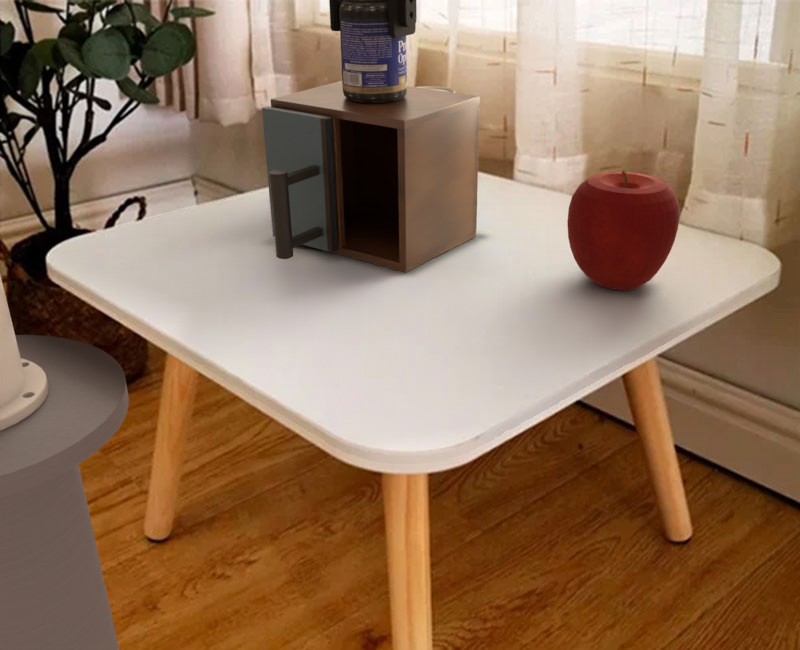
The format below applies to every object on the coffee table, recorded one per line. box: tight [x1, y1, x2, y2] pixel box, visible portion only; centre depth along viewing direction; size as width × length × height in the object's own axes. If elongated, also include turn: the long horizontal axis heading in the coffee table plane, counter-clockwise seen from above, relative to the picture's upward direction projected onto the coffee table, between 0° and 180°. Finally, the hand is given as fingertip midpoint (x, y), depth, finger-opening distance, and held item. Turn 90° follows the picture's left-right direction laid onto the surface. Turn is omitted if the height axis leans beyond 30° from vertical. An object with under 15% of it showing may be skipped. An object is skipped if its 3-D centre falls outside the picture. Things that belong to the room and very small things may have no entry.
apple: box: [567, 170, 681, 291], centre depth 83 cm, size 10×10×10 cm
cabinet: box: [270, 80, 481, 273], centre depth 93 cm, size 12×16×14 cm
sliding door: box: [261, 106, 338, 260], centre depth 88 cm, size 7×8×13 cm
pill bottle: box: [339, 0, 408, 103], centre depth 87 cm, size 6×6×11 cm
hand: (372, 30), depth 87 cm, fingers closed on pill bottle, 6 cm apart
